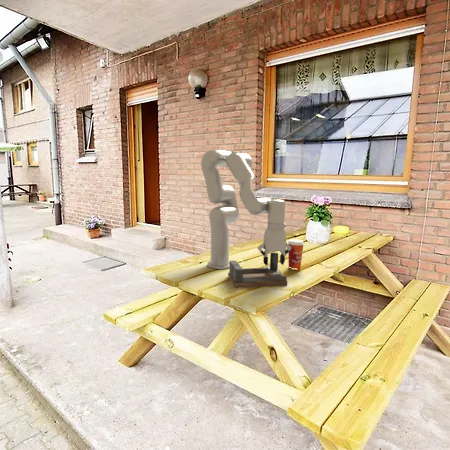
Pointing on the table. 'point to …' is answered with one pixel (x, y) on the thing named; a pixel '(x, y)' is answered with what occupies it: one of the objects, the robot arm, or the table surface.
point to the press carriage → (273, 265)
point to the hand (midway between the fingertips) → (273, 263)
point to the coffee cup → (295, 253)
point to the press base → (253, 277)
